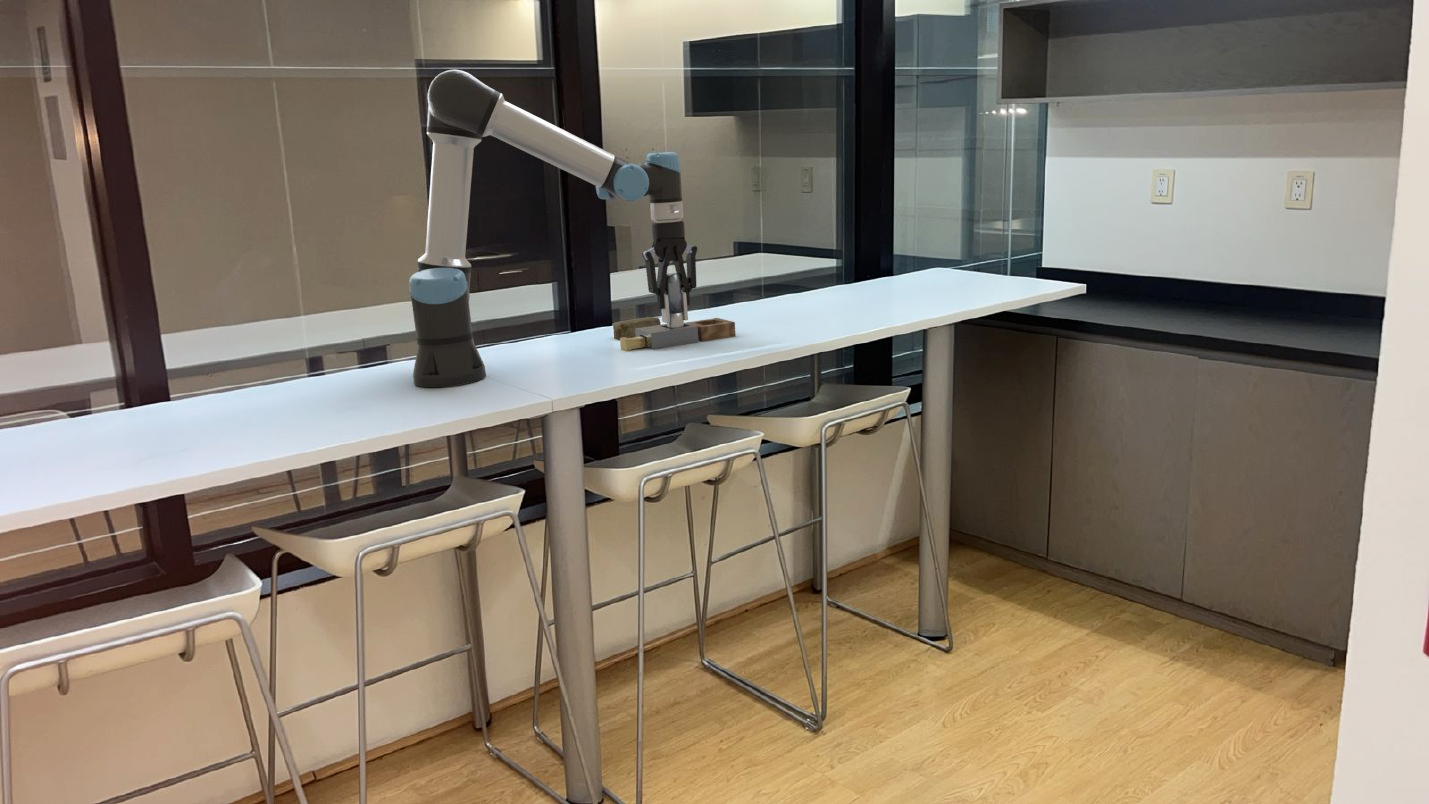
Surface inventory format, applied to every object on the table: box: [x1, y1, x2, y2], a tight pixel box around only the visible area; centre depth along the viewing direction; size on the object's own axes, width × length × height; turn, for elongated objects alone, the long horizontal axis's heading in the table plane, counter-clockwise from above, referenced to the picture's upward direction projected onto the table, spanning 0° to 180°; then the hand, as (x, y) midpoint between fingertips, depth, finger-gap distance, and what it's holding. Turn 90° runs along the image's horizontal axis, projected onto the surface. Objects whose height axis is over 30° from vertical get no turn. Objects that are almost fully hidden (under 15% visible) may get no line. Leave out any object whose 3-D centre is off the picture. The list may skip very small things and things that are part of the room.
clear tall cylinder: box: [665, 272, 685, 329], centre depth 249 cm, size 4×4×16 cm
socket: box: [635, 322, 700, 351], centre depth 249 cm, size 12×9×4 cm
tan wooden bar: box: [619, 336, 647, 352], centre depth 246 cm, size 9×3×3 cm, turn 118°
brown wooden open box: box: [685, 317, 736, 342], centre depth 254 cm, size 9×9×4 cm
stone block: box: [612, 316, 662, 341], centre depth 262 cm, size 6×12×5 cm, turn 123°
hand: (675, 320), depth 250 cm, fingers closed on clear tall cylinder, 4 cm apart
